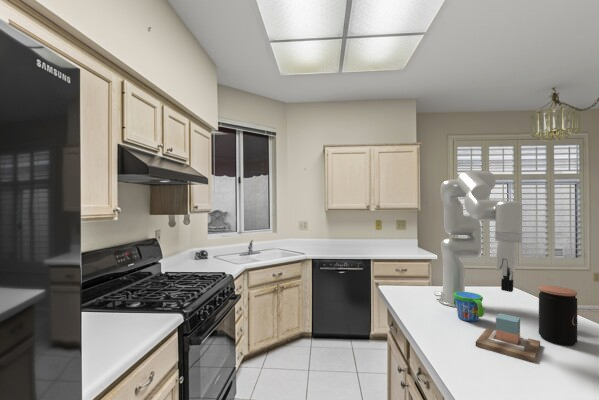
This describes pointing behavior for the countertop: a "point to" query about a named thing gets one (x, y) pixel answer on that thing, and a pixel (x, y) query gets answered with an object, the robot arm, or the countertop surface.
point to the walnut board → (509, 346)
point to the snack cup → (468, 306)
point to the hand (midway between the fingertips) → (507, 290)
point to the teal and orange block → (508, 328)
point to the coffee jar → (558, 315)
